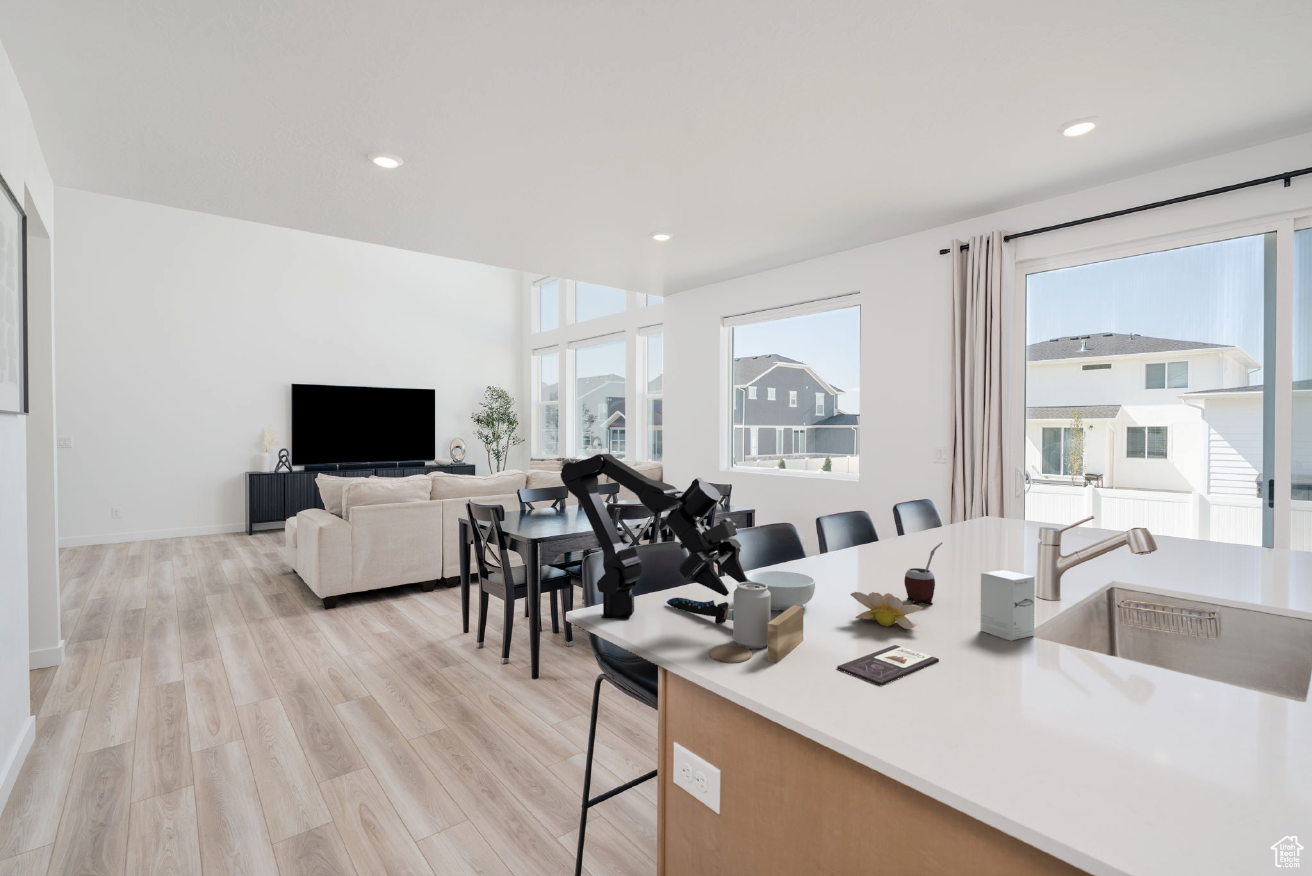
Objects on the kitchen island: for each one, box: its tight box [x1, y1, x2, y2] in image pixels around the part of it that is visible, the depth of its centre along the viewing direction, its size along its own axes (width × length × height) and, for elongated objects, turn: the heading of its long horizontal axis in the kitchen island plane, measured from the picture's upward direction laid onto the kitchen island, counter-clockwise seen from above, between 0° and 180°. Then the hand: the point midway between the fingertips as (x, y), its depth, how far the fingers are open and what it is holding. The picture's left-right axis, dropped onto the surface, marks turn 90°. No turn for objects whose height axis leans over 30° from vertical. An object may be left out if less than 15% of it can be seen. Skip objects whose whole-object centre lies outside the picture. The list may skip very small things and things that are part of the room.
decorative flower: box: [850, 591, 925, 630], centre depth 133 cm, size 15×11×10 cm
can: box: [732, 582, 772, 650], centre depth 121 cm, size 8×8×12 cm
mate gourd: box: [904, 542, 943, 606], centre depth 150 cm, size 8×8×15 cm
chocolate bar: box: [836, 644, 940, 686], centre depth 110 cm, size 9×1×18 cm
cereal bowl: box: [745, 570, 816, 611], centre depth 147 cm, size 17×17×7 cm
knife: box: [666, 597, 733, 625], centre depth 137 cm, size 31×3×4 cm, turn 37°
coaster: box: [709, 644, 752, 664], centre depth 116 cm, size 8×8×1 cm
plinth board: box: [767, 605, 804, 664], centre depth 118 cm, size 2×14×7 cm, turn 147°
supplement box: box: [980, 569, 1036, 642], centre depth 126 cm, size 7×7×13 cm
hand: (737, 589), depth 123 cm, fingers open, 9 cm apart
